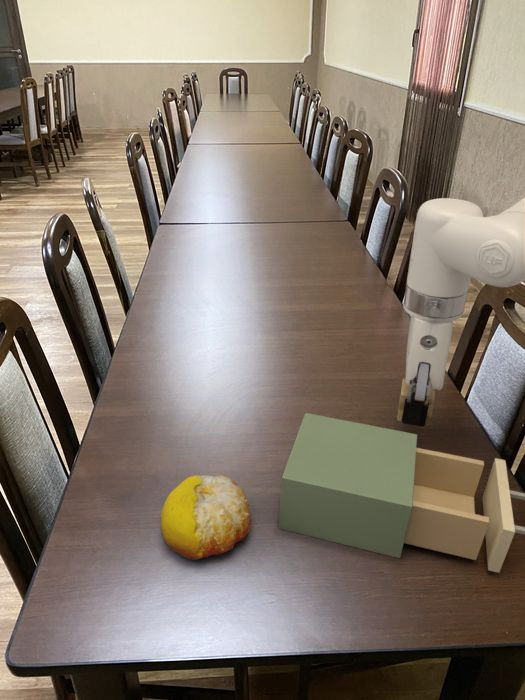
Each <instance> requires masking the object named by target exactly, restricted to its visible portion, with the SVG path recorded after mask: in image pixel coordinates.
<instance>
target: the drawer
mask: <svg viewBox="0 0 525 700" xmlns="http://www.w3.org/2000/svg"><path fill="white" fill-rule="evenodd" d="M484 467H485V461H484V460H480V459H475V458H471V457H465V456H460V455H455V454H451V453H445V452H440V451H436V450H432V449H431V450H429V449H425V448H420V447H416V460H415V475H414V489H413V504H412V510H411V514H410V519H409V523H408V527H407V531H406V536H405V540H404V544H407V545H411V546H415V547H418V548H423V549H427V550H431V551H436V552H439V553H444V554H449V555H452V556H457V557H461V558H465V559H469V560H473V561H477V558H478V556H479V553H480V551H481V547H482V545H483V542H484V539H485V548H486V561H487V562H486V563H487V570H488V571H490V572H494V573H498V574H499V573H500V572H501V569H502V567H503V564H504V562H505V559H506V557H507V554H508V552H509V549H510V546H511V544H512V542H513V539H514V536H515V534H520V535H524V536H525V526H521V525H518V524H515V521H514V520H515V519H514V514H513V506H512V499H517V500H522V501H525V492H521V491H517V490H510V485H509V477H508V469H507V462H506V459H501V458H497V457H495V458H494V460H493V462H492V466H491V469H490V473H489V475H488V479H487V482H486V484H485V488H484V491H483V494H482V499H481V500H482V510H483V511H482V512H483V515H481V514H476V509H475V507H476V506H475V496H476V492H477V489H478V486H479V482H480V479H481V476H482V474H483V470H484ZM511 498H512V499H511Z"/></svg>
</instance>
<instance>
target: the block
mask: <svg viewBox="0 0 525 700" xmlns="http://www.w3.org/2000/svg"><path fill="white" fill-rule="evenodd" d="M405 380H406V377H403V378H402V381H401V388H400V393H399V399H398V408H397V416H396V421H397V422H402V415H403V409H404V403H405V398H407V397H408V391H409V386H408V385H407V384H406V382H405ZM413 380H414V379H413ZM415 391H416V387H413V392H415ZM435 391H436V390H435V389H433V387H432V384H431V389H430V394H429V400H428V402H429V407H428V412H427V417H426V422H425V426H427V427H429V426H430V424H431V419H432V416H433V415H432V414H433V409H434V404H435V398H436V397H435V393H436V392H435ZM413 392H412V394H413Z"/></svg>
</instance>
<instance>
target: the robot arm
mask: <svg viewBox="0 0 525 700" xmlns="http://www.w3.org/2000/svg"><path fill="white" fill-rule="evenodd" d="M412 238H413V239H412V245H411V251H410V257H409V264H408V269H407V270H408V272H407V277H406V285H405V291H404V296H403V297H404V298H403V305H402V307H403V310H404V311H405V313H407V314H409V315H410V320H409V328H408V335H407V343H406V353H405V354H406V355H405V378H406V380H405V382H406V384H407V385H408V386H409V391H408V397H407V398H405V403H404V409H403V415H402V421H401V423H402V424H405V425H409V426H416V427H421V428H423V427H425V426H426V425H425V422H426V417H427V412H428V407H429V402H428V400H429V394H430V389H431V384H432V387H433V389H435V391H436V392H437V391H441V390H442V389H443V388H444V382H445V376H446V375H445V374H446V370H447V364H448V359H449V358H448V357H449V353H450V348H451V341H452V336H453V329H454V321H457V320H459V319H461V318H462V317H463V315H464V311H465V307H466V302H467V297H468V293H469V289H470V283H471V280H472V279H474V280H476V281H479V282H480V283H484V284H485V285H489V286H492V287H498V288H510V287H514V286H517V285H519V284H521V283H523V282H524V281H525V197H523V198H522V199H521V200H519V201H517V202H516V203H515V204H514V205H512V206H510V207H508V208H507V209H505V210H504V211H502V212H500V213H499V214H495V215H492V216H491V215H490V216H484V214H483V211H482V209H481V207H480V206H479V205H478V204H476V203H473V202H471V201H468V200H465V199H460V198H452V197H448V198H447V197H441V198H434V199H433V198H432V199H429V200H427V201H424V202H423V203H422V204H421V205H420V206H419V208H418V209H417V213H416V218H415V224H414V232H413V237H412ZM413 379H414V380H413ZM413 387H416V391H415V392H413ZM412 392H413V394H412Z"/></svg>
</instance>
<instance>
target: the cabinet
mask: <svg viewBox="0 0 525 700" xmlns="http://www.w3.org/2000/svg"><path fill="white" fill-rule="evenodd" d="M417 445H418V433H412V432H406V431H402V430H397V429H392V428H386V427H381V426H377V425H370V424H366V423H360V422H356V421H351V420H345V419H340V418H334V417H330V416H324V415H318V414H314V413H308V412H304V414H303V418H302V421H301V424H300V426H299V429H298V432H297V434H296V437H295V439H294V443H293V445H292V449H291V451H290V454H289V456H288V459H287V462H286V465H285V468H284V471H283V473H282V476H281V485H280V500H279V501H280V505H279V507H280V508H279V522H278V529H280V530H283V531H287V532H292V533H294V534H295V533H296V534H299V535H303V536H307V537H312V538H316V539H320V540H323V541H328V542H332V543H336V544H339V545H343V546H344V545H345V546H348V547H352V548H356V549H362V550H364V551H368V552H373V553H377V554H381V555H384V556H389V557H393V558H396V559H401V557H402V553H403V549H404V544H405V543H404V540H405V536H406V531H407V527H408V523H409V519H410V514H411V510H412V504H413V489H414V475H415V460H416V448H417Z"/></svg>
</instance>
